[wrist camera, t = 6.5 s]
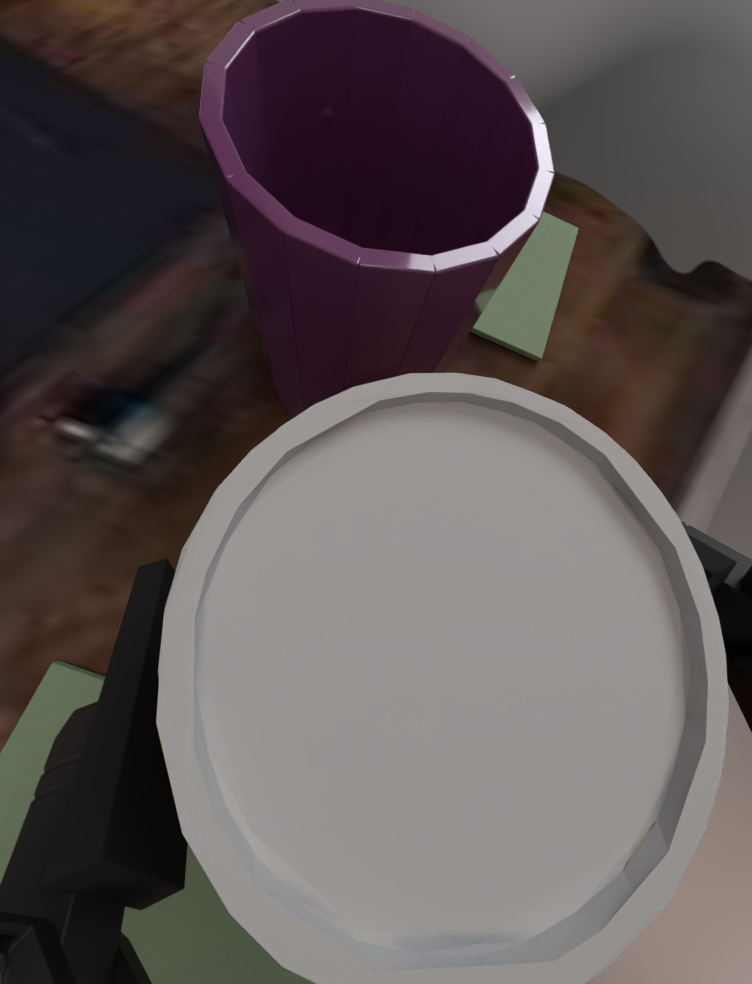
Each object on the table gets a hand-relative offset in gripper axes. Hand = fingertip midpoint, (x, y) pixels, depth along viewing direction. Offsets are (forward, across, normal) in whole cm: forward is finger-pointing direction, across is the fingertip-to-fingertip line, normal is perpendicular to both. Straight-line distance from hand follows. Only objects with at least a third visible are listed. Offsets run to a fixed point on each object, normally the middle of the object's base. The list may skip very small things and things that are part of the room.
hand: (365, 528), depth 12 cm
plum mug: (+11, +3, +4) cm, 12 cm away
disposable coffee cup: (+2, 0, -6) cm, 6 cm away
